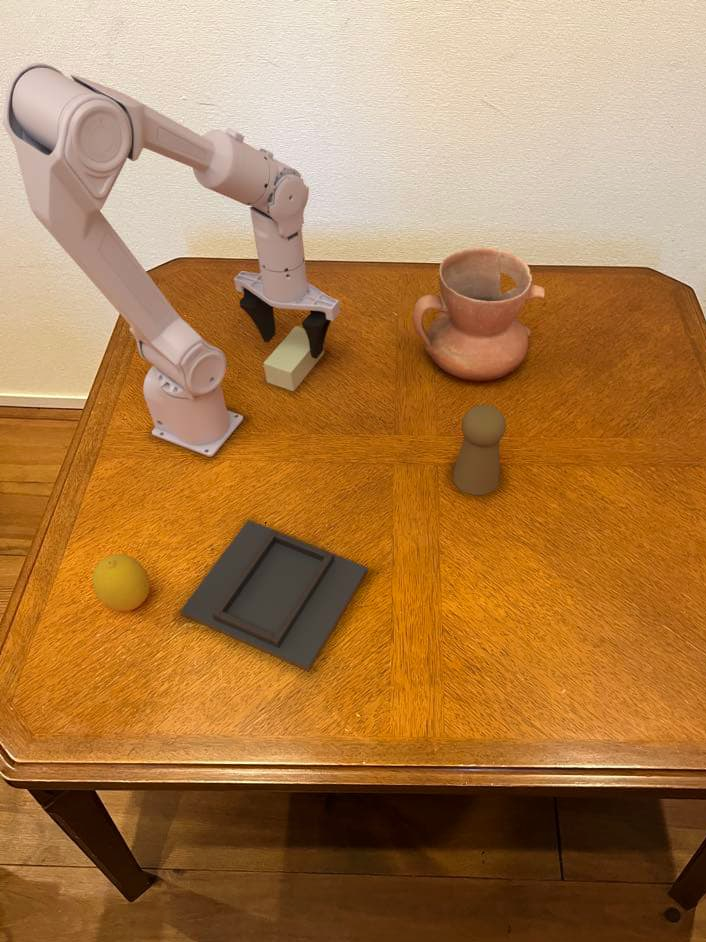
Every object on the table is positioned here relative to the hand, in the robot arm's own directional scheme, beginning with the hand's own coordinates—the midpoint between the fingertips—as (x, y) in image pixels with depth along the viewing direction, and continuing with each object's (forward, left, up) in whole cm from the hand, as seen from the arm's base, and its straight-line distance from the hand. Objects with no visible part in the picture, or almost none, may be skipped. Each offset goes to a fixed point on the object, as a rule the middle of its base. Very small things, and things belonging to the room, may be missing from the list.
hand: (293, 345), depth 103 cm
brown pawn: (+31, -8, -4) cm, 32 cm away
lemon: (+3, -42, -4) cm, 42 cm away
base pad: (+17, -34, -4) cm, 38 cm away
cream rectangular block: (0, 0, -4) cm, 4 cm away
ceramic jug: (+22, +13, -4) cm, 26 cm away
